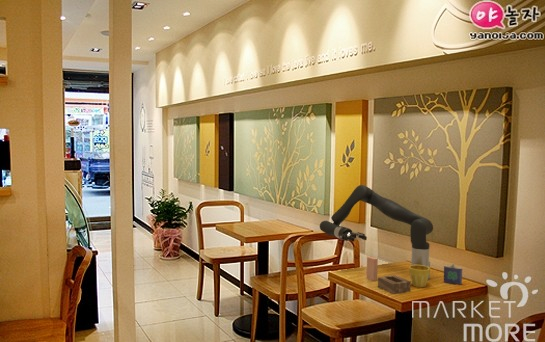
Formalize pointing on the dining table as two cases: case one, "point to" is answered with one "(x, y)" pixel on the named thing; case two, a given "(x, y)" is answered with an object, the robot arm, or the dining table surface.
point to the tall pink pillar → (372, 268)
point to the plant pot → (419, 275)
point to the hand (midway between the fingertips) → (360, 239)
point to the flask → (453, 275)
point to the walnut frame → (394, 284)
